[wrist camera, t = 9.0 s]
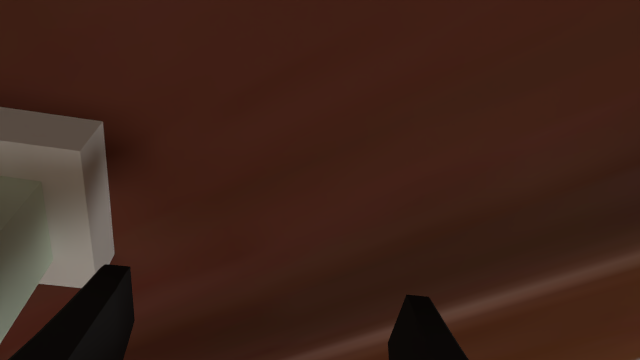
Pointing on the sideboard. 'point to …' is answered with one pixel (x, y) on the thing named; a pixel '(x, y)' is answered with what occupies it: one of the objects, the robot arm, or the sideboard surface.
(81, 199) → the grey base
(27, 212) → the green block
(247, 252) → the sideboard surface
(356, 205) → the sideboard surface
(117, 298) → the robot arm
